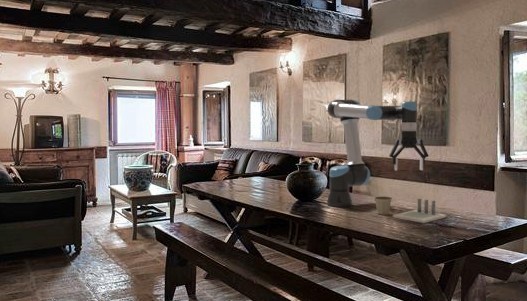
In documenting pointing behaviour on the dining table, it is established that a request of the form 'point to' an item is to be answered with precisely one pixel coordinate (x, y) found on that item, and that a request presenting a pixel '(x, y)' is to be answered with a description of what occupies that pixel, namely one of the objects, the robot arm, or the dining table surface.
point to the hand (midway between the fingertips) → (408, 170)
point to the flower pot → (383, 205)
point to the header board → (421, 214)
